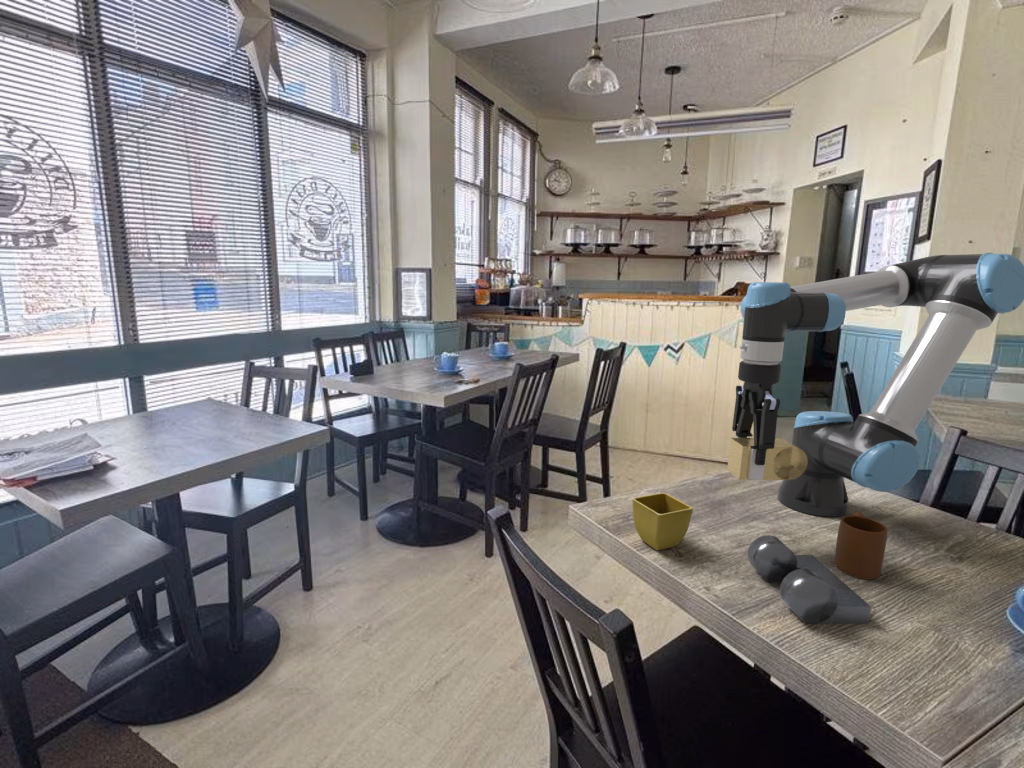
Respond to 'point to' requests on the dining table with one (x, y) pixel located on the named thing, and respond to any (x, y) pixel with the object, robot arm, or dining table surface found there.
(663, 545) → the flower pot
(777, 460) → the brass curved block
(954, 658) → the dining table surface
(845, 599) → the hinge base leaf
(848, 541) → the mug
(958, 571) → the dining table surface
